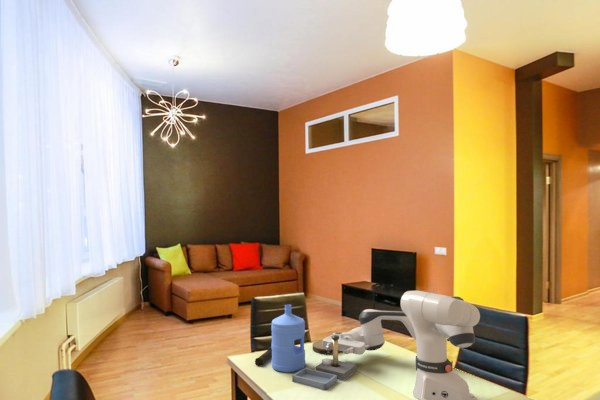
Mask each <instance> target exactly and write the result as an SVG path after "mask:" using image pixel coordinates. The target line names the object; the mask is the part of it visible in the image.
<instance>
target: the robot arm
mask: <svg viewBox="0 0 600 400" xmlns="http://www.w3.org/2000/svg"><path fill="white" fill-rule="evenodd" d="M400 309H401V310H386V309H385V310H380V309H372V308H368V309H364V310H362V311H361V312H360V314H359V316H358V320H359V324H360V326H357V327H354V328H352V329H351V330H349V331H344V332H333V333H332V334H331V335H329V336H326V337H325V338H323V339H322V340H323V347H324V348H326V350H330V349H333V339H332V336H333V335H337V336H339V339H338V351H342V352H343V353H344V354H345V355H349V354H354V355H359V356H360V355H361V356H362V355H363V354H364V353H365V352H366V351H377V350H379V349H380V348H382V347H383V346H384V345H385V344H386V343H385V337H384V331H383V325H382V320H387V321H389V320H390V321H400V322H401V323H403V325H404V326H405V328H406V330H407V331H408V332H409V334H410V335H411V337H412V338H413V339H414V340H415V342H416V343H415V344H416V356H415V371H416V373H415V374H416V376H415V383H414V387H413V391H412V392H413V396H415V398H417V399H418V400H477V398H476V396H475V395H474V394H473V393H471V391H470V388H469V384H468V382H467V380H465V379H464V378H463V377H462V376H460V375H459V374H458V373H457V372H456V371H455V370H454V369H453V367H454V366H453V363H454V360H451V361H450V359H448V354H447V353H448V351H447V347H448V345H447V342H449V343H451V345H453V346H454V347H457V348H463V349H464V348H469V347H470V346H472V345H474V344H475V342H476V334H475V333H474V327H475V326H476V325H478V323H479V322H480V319H481V313H480V310H479V309H478V308H477V307H476V306H475V305H473V304H472V303H470V302H468V301H465V300H464V298H462V297H461V296H449V295H446V294H440V293H434V292H430V291H429V292H428V291H423V290H407V291H405V292H404V293H403V294H402V295H401V298H400Z"/></svg>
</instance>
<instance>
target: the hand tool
mask: <svg viewBox="0 0 600 400" xmlns="http://www.w3.org/2000/svg"><path fill="white" fill-rule="evenodd" d="M271 356H272V347H271V345H270V346H269V347H268V348H267V350H266V351H265V352H264V353H262V354H261V355H260V356H258V357H257V358H255V359H254V364H255V365H258V366H257V367H263V366H264V365H265V364H264V363H266V361H268V360H269V359H270V358H272V357H271Z"/></svg>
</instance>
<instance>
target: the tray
mask: <svg viewBox="0 0 600 400" xmlns="http://www.w3.org/2000/svg"><path fill="white" fill-rule="evenodd" d="M291 378H292V379H291V380H292V382H294V383H297V384H300V385H304V386H308V387H310V388H311V387H312V388H316V389H319V390H323V391H327V390H328V389H329V388H331V387H332V386H333V385H335V384H336V383H337V382H338V379H337V375H334V374H329V373H325V372H321V371H317V370H315V369H311V368H307V367H304V368H303V369H301V370H299V371H296V372H294V373H293V375H291Z"/></svg>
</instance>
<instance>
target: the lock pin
mask: <svg viewBox="0 0 600 400" xmlns="http://www.w3.org/2000/svg"><path fill="white" fill-rule="evenodd" d="M332 335H333V334H332ZM332 339H333V355H332V359H333V367H336V368H338V361H339V353H338V339H339V336H337V335H333V336H332Z"/></svg>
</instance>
